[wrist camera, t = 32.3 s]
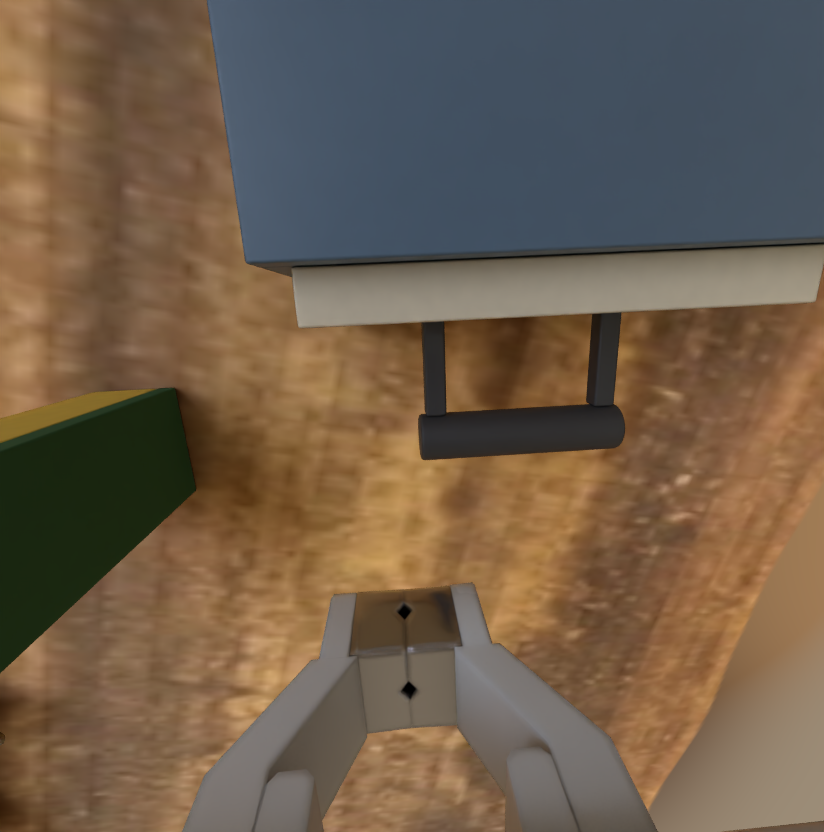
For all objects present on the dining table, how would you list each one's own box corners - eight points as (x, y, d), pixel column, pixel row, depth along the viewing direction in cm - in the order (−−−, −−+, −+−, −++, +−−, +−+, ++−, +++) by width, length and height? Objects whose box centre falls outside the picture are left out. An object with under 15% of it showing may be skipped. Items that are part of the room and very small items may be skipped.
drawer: (624, 411, 16) (779, 480, 10) (348, 428, 16) (319, 511, 9) (686, -222, 11) (1078, -925, 5) (288, -222, 11) (139, -989, 4)
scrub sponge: (93, 392, 16) (-271, 494, 7) (175, 387, 16) (-83, 481, 7) (120, 495, 17) (-163, 691, 8) (197, 490, 17) (-4, 678, 8)
